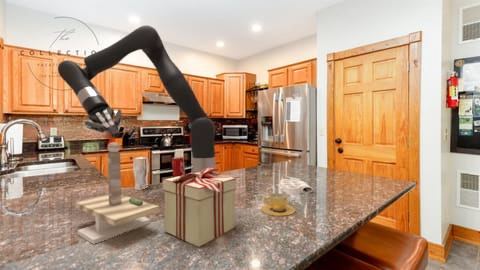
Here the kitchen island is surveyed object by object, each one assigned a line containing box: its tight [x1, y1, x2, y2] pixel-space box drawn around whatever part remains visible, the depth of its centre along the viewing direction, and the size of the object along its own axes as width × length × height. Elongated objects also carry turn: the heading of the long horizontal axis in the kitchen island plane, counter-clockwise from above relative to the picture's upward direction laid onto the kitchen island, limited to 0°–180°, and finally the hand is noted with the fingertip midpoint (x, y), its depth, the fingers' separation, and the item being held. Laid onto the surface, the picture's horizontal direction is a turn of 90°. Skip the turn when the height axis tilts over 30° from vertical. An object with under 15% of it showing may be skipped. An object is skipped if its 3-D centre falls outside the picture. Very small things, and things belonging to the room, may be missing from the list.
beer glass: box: [132, 156, 150, 191], centre depth 113 cm, size 7×7×15 cm
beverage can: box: [171, 156, 186, 178], centre depth 114 cm, size 6×6×15 cm
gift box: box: [162, 167, 239, 248], centre depth 66 cm, size 17×18×17 cm
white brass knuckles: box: [276, 178, 314, 196], centre depth 109 cm, size 3×18×15 cm
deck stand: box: [77, 216, 151, 245], centre depth 68 cm, size 10×16×5 cm, turn 144°
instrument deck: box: [74, 141, 159, 226], centre depth 68 cm, size 24×12×20 cm, turn 54°
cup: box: [260, 192, 296, 217], centre depth 82 cm, size 12×12×5 cm
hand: (116, 136), depth 81 cm, fingers closed
